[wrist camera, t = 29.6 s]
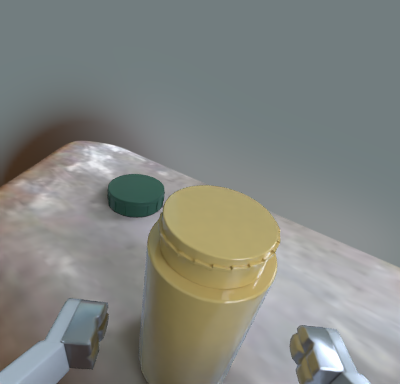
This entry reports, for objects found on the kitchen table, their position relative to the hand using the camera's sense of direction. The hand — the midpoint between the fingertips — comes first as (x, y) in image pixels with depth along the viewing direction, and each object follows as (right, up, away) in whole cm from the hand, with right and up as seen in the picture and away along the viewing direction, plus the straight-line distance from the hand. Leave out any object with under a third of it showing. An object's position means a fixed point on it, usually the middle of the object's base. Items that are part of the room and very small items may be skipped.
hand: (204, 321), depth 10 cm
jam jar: (-1, -4, +5) cm, 7 cm away
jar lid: (-7, +6, +17) cm, 19 cm away
